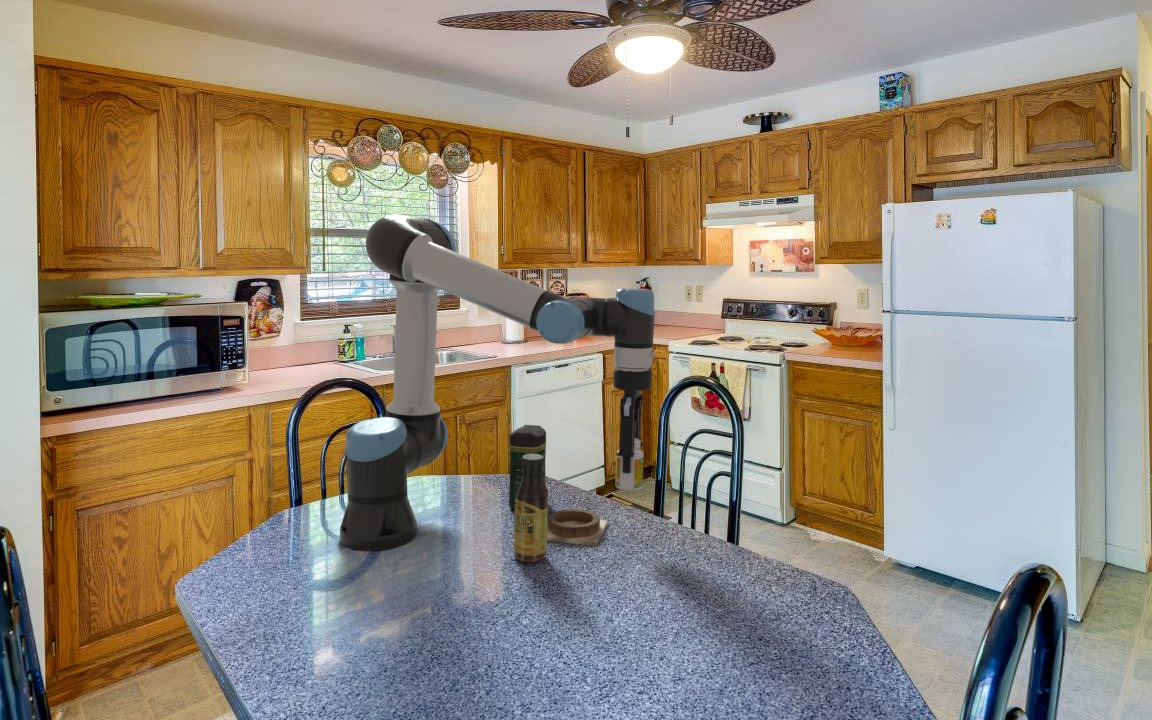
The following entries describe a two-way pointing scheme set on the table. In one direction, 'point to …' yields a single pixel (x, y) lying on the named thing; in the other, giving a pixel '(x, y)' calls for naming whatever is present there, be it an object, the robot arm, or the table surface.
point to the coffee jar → (520, 444)
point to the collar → (575, 527)
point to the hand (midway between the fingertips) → (628, 483)
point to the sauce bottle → (531, 512)
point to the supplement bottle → (637, 468)
